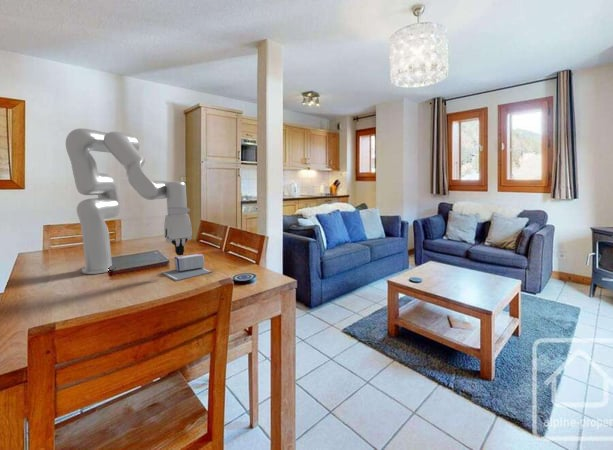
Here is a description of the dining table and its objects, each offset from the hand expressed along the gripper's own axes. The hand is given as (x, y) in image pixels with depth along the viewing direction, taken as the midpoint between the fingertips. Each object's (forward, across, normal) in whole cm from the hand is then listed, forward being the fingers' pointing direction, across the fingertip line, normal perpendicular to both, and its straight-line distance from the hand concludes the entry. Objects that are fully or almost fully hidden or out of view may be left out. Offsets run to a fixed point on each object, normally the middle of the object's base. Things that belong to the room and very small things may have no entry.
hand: (179, 254), depth 128 cm
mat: (+9, -3, 0) cm, 9 cm away
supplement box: (+5, 0, -5) cm, 7 cm away
